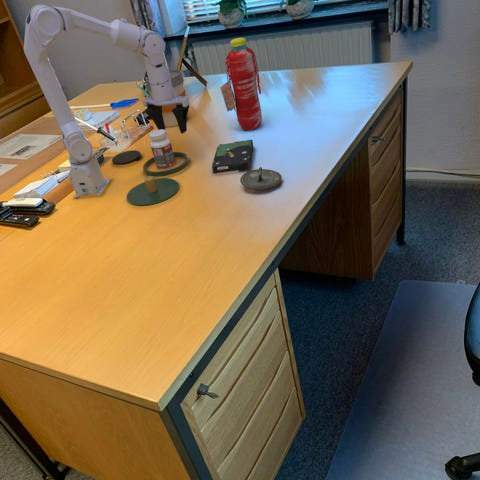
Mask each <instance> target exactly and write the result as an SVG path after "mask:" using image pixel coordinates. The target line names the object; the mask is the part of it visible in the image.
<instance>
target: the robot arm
mask: <svg viewBox="0 0 480 480" xmlns="http://www.w3.org/2000/svg"><path fill="white" fill-rule="evenodd" d="M77 29H78V30H81V31H84V32H88V33H92V34H95V35H98V36H103V37H106V38H108V39H109V42H110V43H111V45H112V46H115V47H118V48H122V49H125V50H128V51H131V52H134V53H140V54H142V58H143V61H144V62H143V63H144V67H145V71H146V74H147V77H148V78H149V82H150V86H151V90H152V93H153V97H151V96H146V97H144V98H142V99H141V102H142V104H143V107H144V108H146V109H145V114H146V115H148V117H149V118H150V119H151V120H152V122H153V123H154V125H155V127H156V128H157V130H160V129H164V130H166V126H165V124H164V120H163V114H162V106H176V108H174V109H173V110H172V112H173V114H174V116H175V117H176V120H177V122H178V125H177V126H178V129H179V132H180V134H184V133H186V132H187V131H188V129H187V128H188V127H187V124H188V113H189V109H190V100H189V96H186V97H182V96H177V95H175V93H174V91H173V87H172V83H171V79H170V74H169V70H170V69H169V66H168V62H167V59H166V56H165V52H166V51H165V50H166V42H165V40H164V39H163V37H162V36H161V35H160V33H158V32H156V31H153V30H150V29H149V28H146V26H144V25H142V24H141V25H140V26H138V25H136V24H132V23H129V22H128V20H127V19H125V18H123V17H120V19H114V20H112V21H111V22H107V21H104V20H101V19H99V18H95V17H93V16H90V15H87V14H85V13H82V12H79V11H76V10H73V9H70V8H67V7H66V8H65V7H59V6H55V5H51V6H49V5H47V4H45V3H37V4H35V5H33V6H32V7H31V9H30V10H29V11H28V13H27V16H26V18H25V29H24V40H23V53H24V55H25V57H26V59H27V62H28V64H29V66H30V68H31V70H32V72H33V75H34V76H35V79H36V80H37V83H38V85H39V87H40V89H41V91H42V93H43V95H44V98H45V99H46V101H47V104H48V106H49V108H50V111H51V112H52V114H53V117H54V118H55V121H56V123H57V125H58V127H59V130H60V133H61V136H62V145H63V146H64V148H65V149H66V150H67V152H68V156H69V157H68V162H69V165H70V169H69V172H68V177H69V180H70V182H71V185H72V187H73V190H74V192H75V194H74V196H73V197H74V199H77V198H78V199H79V198H80V197H87V196H96V195H101V194H102V192H103V191H104V189H105V188H106V187H107V185H108V183H109V182H110V180H111V178H105V176H104V173H103V171H102V169H101V165H100V163H99V160H98V157H97V155H96V152H95V151H94V148H93V145H92V143H91V141H90V140H89V139H88V138H87V137H86V135H85V133H84V132H82V129H81V128H80V126H79V123H78V122H77V120H76V117H75V115H74V113H73V111H72V109H71V106H70V104H69V102H68V100H67V97H66V95H65V93H64V90H63V88H62V86H61V84H60V82H59V80H58V76H57V74H56V72H55V70H54V68H53V66H52V64H51V62H50V59H49V57H48V55H49V52H50V51H51V48H52V45H53V44H54V43H55V41H57V40H58V38H59V37H60V36H61V34H62V33H63V32H65V33H70V32H71V31H74V30H77Z"/></svg>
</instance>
